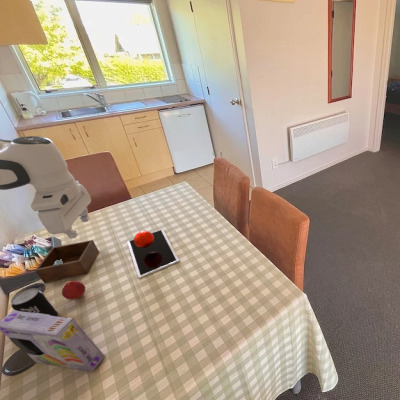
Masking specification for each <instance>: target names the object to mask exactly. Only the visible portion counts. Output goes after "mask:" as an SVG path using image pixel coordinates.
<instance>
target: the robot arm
mask: <svg viewBox="0 0 400 400" xmlns="http://www.w3.org/2000/svg"><path fill="white" fill-rule="evenodd" d="M26 185H31V186H33V188H34V189H35V193H34V196H33V197H34V198H33V200H32V202H31V204H30V208H31V209H32V211H33V212H37V216H38V219H39V221H40V222H41V224H42V226H43V227H44V229H45V230H46V231H47V233H49V234H51V235H59V234H65V235H66V236H67V238H69V239H70V240H71V239H76V238H77V237H78V235H79V233H78V231H77V230H73V225H74V223H75V222H76V221H77V220H78V218H79V217H80V218H79V219H80V220H81V222H82V223H85V222H86V223H87V222H89V221H90V220H91V217H90V215H89V210H88V206H89V205H90V204H91V202H92V197H91V196H90V194H89V192H88V191H87V189H86V188H85V186H84V185H83V184H82V183H80V182H79V181H78V180H76V179H75V177H74V175H73V174H72V173H71V172H70V171H69V167H68V163H67V161H66V159H65V157H64V156H63V154H62V152H61V150H60V149H59V148H58V147H57V145H56V144H55V143H54V142H53V141H52V140H51V139H50V138H47V137H43V136H39V135H33V136H32V135H28V136H20V137H16V138H13V139H12V140H8V139H1V138H0V190H1V191H6V190H12V189H16V188H20V187H23V186H26Z"/></svg>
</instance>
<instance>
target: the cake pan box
mask: <svg viewBox="0 0 400 400" xmlns="http://www.w3.org/2000/svg"><path fill="white" fill-rule="evenodd" d="M0 332H1V333H2V334H4V335H5V336H6V338H8V339H9V340H10V341H11V342H12V344H14V345H15V346H16V347H17V348H18V349H20V350H21V351H23V352H25V353H26V354H27V355H28V356H29V358H31V360H33V361H34V362H35V363H36V364H43V365H48V366H49V365H50V366H55V367H62V368H66V369H73V370H78V371H84V372H91V373H92V372H94V370H95V369H96V368H97V367H98V366H99V365H100V364H101V363H102V361H103V360H104V359H105V358H106V355H105V354H104V353H103V352H102V350H101V349H100V348H99V347H98V346H97V345H96V343H95V342H94V341H93V339H91V338H90V336H89V335H88V334H87V333H86V332H85V330H83V328H82V327H81V326H80V325H79V324H78V323H77V321H76V320H75V319H74V317H73V318H72V317H63V316H58V317H57V316H51V315H47V314H40V313H29V312H21V311H17V310H14V309H13V310H12V311H10V312H9V313H8V314H7V315H6V316H4V318H2V319H1V320H0Z"/></svg>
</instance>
